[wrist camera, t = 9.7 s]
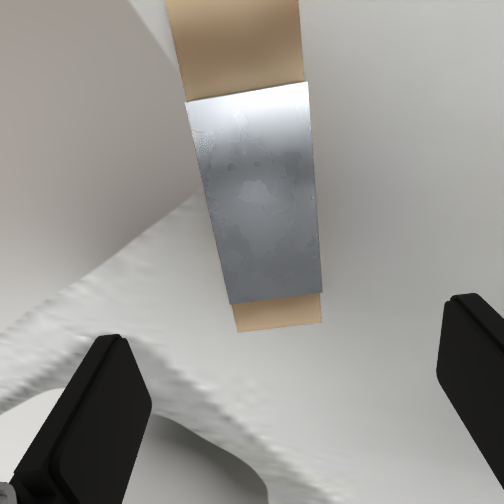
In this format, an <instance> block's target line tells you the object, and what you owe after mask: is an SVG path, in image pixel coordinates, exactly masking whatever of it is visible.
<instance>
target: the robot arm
mask: <svg viewBox="0 0 504 504" xmlns="http://www.w3.org/2000/svg"><path fill="white" fill-rule="evenodd" d="M436 373H437V378H438V381H439V383H440V385H441V387H442V388H443V390H444V392H445V393H446V395H447V397H448V398H449V400H450V402H451V403H452V405H453V407H454V408H455V410H456V411H457V413H458V415H459V416H460V418H461V420H462V421H463V423H464V425H465V426H466V428H467V430H468V431H469V433H470V435H471V436H472V438H473V440H474V441H475V443H476V445H477V446H478V448H479V450H480V451H481V453H482V454H483V456H484V458H485V459H486V461H487V463H488V464H489V466H490V468H491V469H492V471H493V473H494V474H495V476H496V478H497V479H498V481H499V483H500V484H501V486H502V488H503V489H504V319H503V318H502V317H501V316H500V315H499V314H498V313H497V312H496V311H495V310H494V309H493V308H492V307H491V306H490V305H489V304H488V303H487V302H486V301H485V300H484V299H483V298H482V297H481V296H479V295H478V294H476V293H469V294H461V295H454V296H452V297H451V299H450V301H447V302H446V303H445V305H444V312H443V320H442V328H441V336H440V344H439V352H438V360H437V369H436ZM151 408H152V401H151V397H150V395H149V392H148V390H147V388H146V385H145V383H144V380H143V378H142V375H141V373H140V370H139V368H138V365H137V363H136V360H135V358H134V356H133V353H132V351H131V348H130V346H129V343H128V341H127V339H125V338H122V337H121V336H120V335H119V334H112V335H104V336H99V337H97V338H96V340H95V341H94V343H93V345H92V346H91V348H90V349H89V351H88V353H87V354H86V356H85V357H84V359H83V361H82V362H81V364H80V366H79V367H78V369H77V370H76V372H75V374H74V375H73V377H72V378H71V380H70V382H69V383H68V385H67V387H66V388H65V390H64V392H63V393H62V395H61V396H60V398H59V399H58V401H57V403H56V404H55V406H54V408H53V409H52V411H51V412H50V414H49V416H48V417H47V419H46V420H45V422H44V424H43V425H42V427H41V429H40V430H39V432H38V434H37V435H36V437H35V438H34V440H33V441H32V443H31V445H30V446H29V448H28V450H27V451H26V453H25V454H24V456H23V458H22V459H21V461H20V463H19V464H18V466H17V467H16V469H15V471H14V473H15V474H14V476H13V477H12V479H11V481H10V482H9V483H7V482H0V504H122V501H123V498H124V495H125V492H126V489H127V485H128V482H129V479H130V476H131V473H132V470H133V466H134V463H135V460H136V457H137V454H138V451H139V448H140V444H141V441H142V438H143V435H144V432H145V429H146V425H147V422H148V419H149V416H150V413H151Z"/></svg>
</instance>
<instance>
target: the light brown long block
mask: <svg viewBox="0 0 504 504" xmlns="http://www.w3.org/2000/svg"><path fill="white" fill-rule="evenodd" d="M165 3H166V8H167V12H168V17H169V21H170V26H171V31H172V35H173V40H174V44H175V49H176V53H177V58H178V63H179V67H180V72H181V76H182V81H183V85H184V90H185V94H186V99H187V102H188V101H190V100H192V99H196V98H201V97H207V96H213V95H219V94H225V93H231V92H237V91H242V90H248V89H254V88H260V87H266V86H272V85H278V84H284V83H289V82H295V81H304V72H303V58H302V44H301V31H300V17H299V3H298V0H165ZM231 305H232V309H233V314H234V318H235V323H236V327H237V332H246V331H254V330H263V329H271V328H279V327H287V326H295V325H303V324H312V323H320V322H322V321H321V307H320V294H319V293H315V294H307V295H300V296H292V297H284V298H276V299H269V300H261V301H253V302H246V303H238V304H231Z"/></svg>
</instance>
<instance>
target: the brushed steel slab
mask: <svg viewBox="0 0 504 504" xmlns="http://www.w3.org/2000/svg"><path fill="white" fill-rule="evenodd" d="M185 106H186V110H187V115H188V119H189V124H190V128H191V133H192V137H193V141H194V146H195V151H196V155H197V159H198V164H199V168H200V173H201V177H202V182H203V186H204V191H205V195H206V200H207V204H208V209H209V213H210V217H211V222H212V226H213V231H214V235H215V240H216V244H217V249H218V253H219V258H220V262H221V267H222V271H223V275H224V280H225V284H226V289H227V293H228V298H229V302H230V304H238V303H246V302H253V301H261V300H269V299H276V298H284V297H292V296H300V295H307V294H315V293H322V279H321V265H320V250H319V236H318V222H317V208H316V193H315V179H314V165H313V150H312V136H311V122H310V108H309V93H308V82H305V81H295V82H289V83H284V84H278V85H272V86H266V87H260V88H254V89H248V90H242V91H237V92H231V93H225V94H219V95H213V96H207V97H201V98H196V99H192V100H190V101H188V102H185Z"/></svg>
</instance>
